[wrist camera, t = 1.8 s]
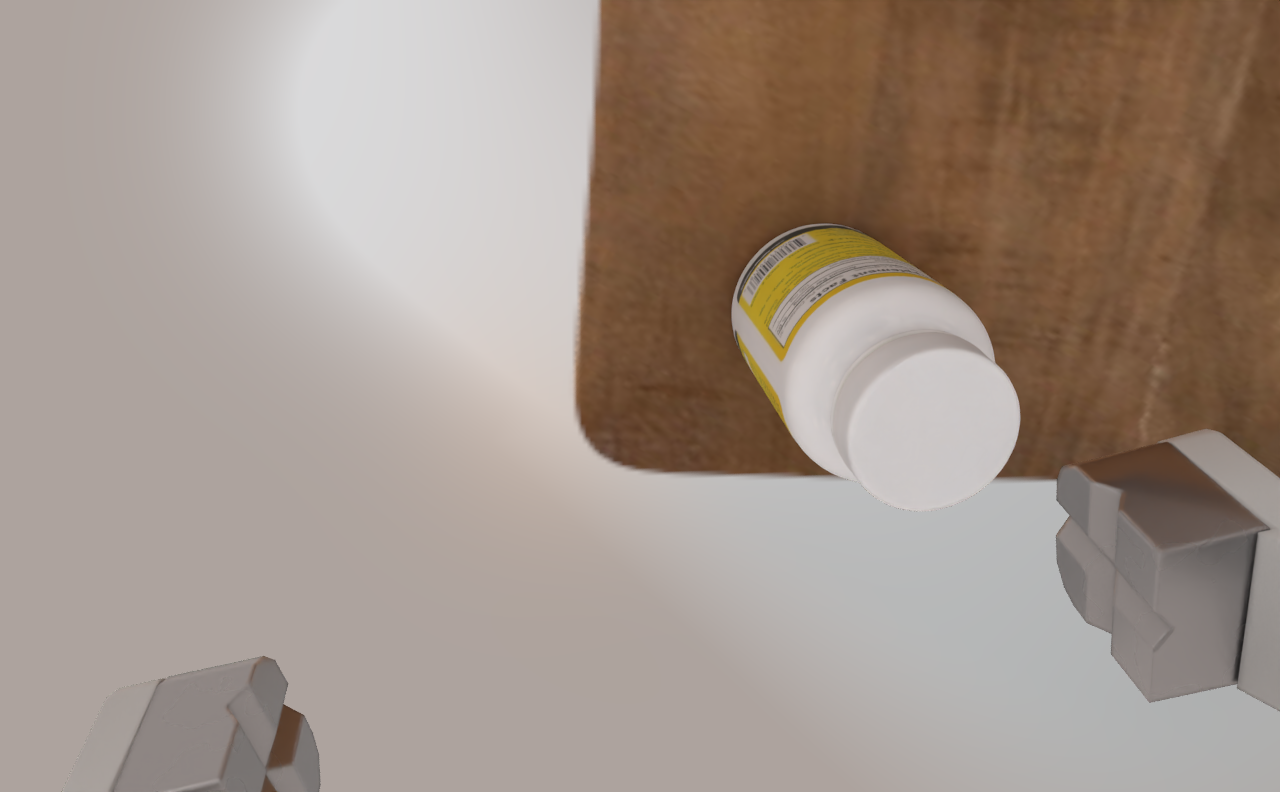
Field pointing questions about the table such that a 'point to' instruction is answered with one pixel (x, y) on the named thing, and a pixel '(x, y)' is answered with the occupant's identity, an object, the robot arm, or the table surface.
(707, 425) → the table surface
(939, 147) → the table surface
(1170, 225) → the table surface
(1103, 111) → the table surface
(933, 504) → the supplement bottle
